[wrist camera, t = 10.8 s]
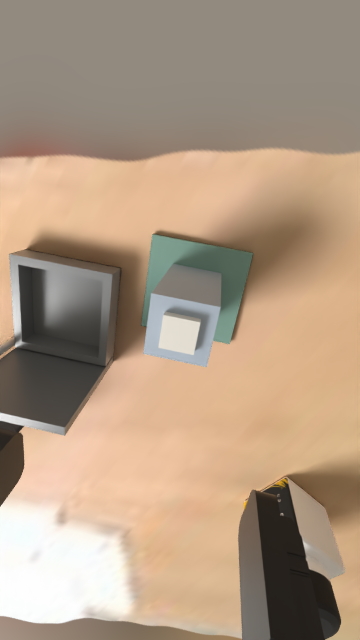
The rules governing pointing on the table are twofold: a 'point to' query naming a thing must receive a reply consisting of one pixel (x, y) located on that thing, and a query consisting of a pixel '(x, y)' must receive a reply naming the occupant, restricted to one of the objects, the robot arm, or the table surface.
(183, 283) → the module
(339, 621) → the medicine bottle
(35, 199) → the table surface
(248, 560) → the robot arm
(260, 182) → the table surface
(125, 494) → the table surface
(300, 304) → the table surface
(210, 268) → the pad
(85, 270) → the case
